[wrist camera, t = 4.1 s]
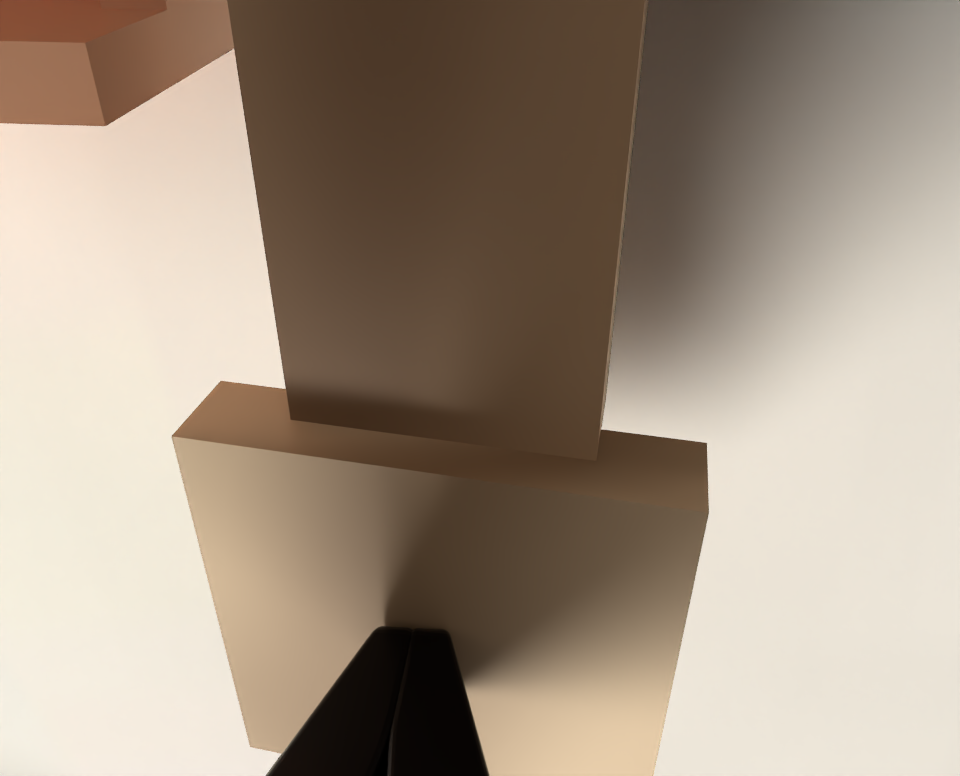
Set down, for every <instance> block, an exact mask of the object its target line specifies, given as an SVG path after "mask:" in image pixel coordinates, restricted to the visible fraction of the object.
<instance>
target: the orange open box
mask: <svg viewBox="0 0 960 776" xmlns="http://www.w3.org/2000/svg"><path fill="white" fill-rule="evenodd" d="M232 49H234V43H233V36H232V30H231V23H230V16H229V10H228V3H227V0H0V123H15V124H51V125H87V126H106V125H108V124H110V123H111V122H113V121H115V120H116V119H118V118H120V117H121V116H123V115H125V114H126V113H128V112H130V111H131V110H133V109H135V108H136V107H138V106H139V105H141V104H143V103H144V102H146V101H148V100H149V99H151V98H153V97H154V96H156V95H158V94H159V93H161V92H163V91H164V90H166V89H168V88H169V87H171V86H173V85H174V84H176V83H178V82H179V81H181V80H182V79H184V78H186V77H187V76H189V75H191V74H192V73H194V72H196V71H197V70H199V69H201V68H202V67H204V66H206V65H207V64H209V63H211V62H212V61H214V60H216V59H217V58H219V57H221V56H222V55H224V54H226V53H227V52H229V51H230V50H232Z"/></svg>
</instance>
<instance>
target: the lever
mask: <svg viewBox="0 0 960 776" xmlns="http://www.w3.org/2000/svg"><path fill="white" fill-rule="evenodd" d="M648 1H649V0H227V3H228V10H229V16H230V23H231V30H232V36H233V43H234V49H235V56H236V63H237V69H238V76H239V82H240V89H241V96H242V102H243V109H244V115H245V122H246V129H247V135H248V142H249V148H250V155H251V162H252V168H253V175H254V181H255V188H256V195H257V201H258V208H259V214H260V221H261V228H262V234H263V241H264V247H265V254H266V261H267V267H268V274H269V280H270V287H271V294H272V300H273V307H274V313H275V320H276V327H277V333H278V340H279V346H280V353H281V360H282V366H283V373H284V379H285V386H286V389H280V388H272V387H264V386H257V385H249V384H241V383H233V382H225V381H220V382H219V384H218V385H217V386H216V387H215V388H214V389H213V390H212V391H211V393H210V394H209V395H208V396H207V397H206V398H205V399H204V400H203V402H202V403H201V404H200V405H199V406H198V407H197V408H196V409H195V411H194V412H193V413H192V414H191V415H190V416H189V417H188V418H187V420H186V421H185V422H184V423H183V424H182V425H181V426H180V427H179V429H178V430H177V431H176V432H175V433H174V434H173V435H172V440H173V444H174V448H175V452H176V456H177V460H178V464H179V468H180V472H181V476H182V480H183V483H184V487H185V491H186V495H187V499H188V503H189V507H190V511H191V515H192V519H193V523H194V527H195V531H196V535H197V539H198V543H199V547H200V550H201V554H202V558H203V562H204V566H205V570H206V574H207V578H208V582H209V586H210V590H211V594H212V598H213V602H214V606H215V610H216V614H217V618H218V621H219V625H220V629H221V633H222V637H223V641H224V645H225V649H226V653H227V657H228V661H229V665H230V669H231V673H232V677H233V681H234V685H235V688H236V692H237V696H238V700H239V704H240V708H241V712H242V716H243V720H244V724H245V728H246V732H247V736H248V740H249V744H250V747H253V748H258V749H263V750H268V751H272V752H277V753H283V752H284V750H285V749H286V747H287V746H288V745H289V743H290V742H291V741H292V739H293V738H294V737H295V735H296V734H297V733H298V731H299V730H300V729H301V727H302V726H303V725H304V723H305V722H306V721H307V719H308V718H309V716H310V715H311V714H312V712H313V711H314V710H315V708H316V707H317V706H318V704H319V703H320V702H321V700H322V699H323V698H324V696H325V695H326V694H327V692H328V691H329V689H330V688H331V687H332V685H333V684H334V683H335V681H336V680H337V679H338V677H339V676H340V675H341V673H342V672H343V671H344V669H345V668H346V667H347V665H348V664H349V662H350V661H351V660H352V658H353V657H354V656H355V654H356V653H357V652H358V650H359V649H360V648H361V646H362V645H363V644H364V642H365V641H366V640H367V638H368V637H369V635H370V634H371V633H372V632H373V631H374V630H375V629H376V628H378V627H380V626H391V627H408V628H411V629H412V630H414V629H416V628H426V629H443V630H446V631H448V632H449V634H450V636H451V639H452V642H453V646H454V649H455V653H456V656H457V660H458V664H459V667H460V671H461V674H462V678H463V682H464V685H465V689H466V692H467V696H468V700H469V703H470V707H471V710H472V714H473V718H474V721H475V725H476V728H477V732H478V736H479V739H480V743H481V746H482V750H483V753H484V757H485V761H486V764H487V768H488V771H489V775H490V776H653V774H654V769H655V765H656V760H657V755H658V750H659V746H660V741H661V736H662V731H663V727H664V722H665V717H666V713H667V708H668V703H669V698H670V694H671V689H672V684H673V679H674V675H675V670H676V665H677V660H678V656H679V651H680V646H681V642H682V637H683V632H684V627H685V623H686V618H687V613H688V608H689V604H690V599H691V594H692V589H693V585H694V580H695V575H696V571H697V566H698V561H699V556H700V552H701V547H702V542H703V537H704V533H705V528H706V523H707V519H708V514H709V505H708V470H707V443H702V442H695V441H687V440H679V439H671V438H663V437H656V436H648V435H640V434H632V433H624V432H616V431H609V430H601V426H602V420H603V413H604V407H605V400H606V391H607V382H608V372H609V363H610V354H611V345H612V335H613V326H614V317H615V307H616V298H617V289H618V280H619V270H620V261H621V252H622V242H623V233H624V224H625V215H626V205H627V196H628V187H629V177H630V168H631V159H632V150H633V140H634V131H635V122H636V112H637V103H638V94H639V85H640V75H641V66H642V57H643V47H644V38H645V29H646V20H647V10H648Z"/></svg>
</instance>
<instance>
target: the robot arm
mask: <svg viewBox="0 0 960 776" xmlns="http://www.w3.org/2000/svg"><path fill="white" fill-rule="evenodd" d="M266 776H490V775H489V771H488V768H487V764H486V761H485V757H484V753H483V750H482V746H481V743H480V739H479V736H478V732H477V728H476V725H475V721H474V718H473V714H472V710H471V707H470V703H469V700H468V696H467V692H466V689H465V685H464V682H463V678H462V674H461V671H460V667H459V664H458V660H457V656H456V653H455V649H454V646H453V642H452V639H451V636H450V634H449V632H448V631H446V630H443V629H426V628H416V629H414V630H412V629H411V628H408V627H391V626H380V627H378V628H376V629H375V630H374V631H373V632H372V633H371V634H370V635H369V637H368V638H367V640H366V641H365V642H364V644H363V645H362V646H361V648H360V649H359V650H358V652H357V653H356V654H355V656H354V657H353V658H352V660H351V661H350V662H349V664H348V665H347V667H346V668H345V669H344V671H343V672H342V673H341V675H340V676H339V677H338V679H337V680H336V681H335V683H334V684H333V685H332V687H331V688H330V689H329V691H328V692H327V694H326V695H325V696H324V698H323V699H322V700H321V702H320V703H319V704H318V706H317V707H316V708H315V710H314V711H313V712H312V714H311V715H310V716H309V718H308V719H307V721H306V722H305V723H304V725H303V726H302V727H301V729H300V730H299V731H298V733H297V734H296V735H295V737H294V738H293V739H292V741H291V742H290V743H289V745H288V746H287V747H286V749H285V750H284V752H283V753H282V754H281V756H280V757H279V758H278V760H277V761H276V762H275V764H274V765H273V766H272V768H271V769H270V770H269V772H268V773H267V774H266Z"/></svg>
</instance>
